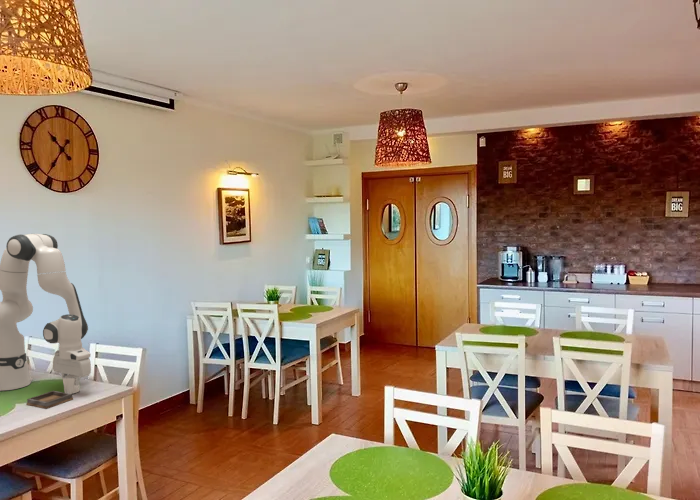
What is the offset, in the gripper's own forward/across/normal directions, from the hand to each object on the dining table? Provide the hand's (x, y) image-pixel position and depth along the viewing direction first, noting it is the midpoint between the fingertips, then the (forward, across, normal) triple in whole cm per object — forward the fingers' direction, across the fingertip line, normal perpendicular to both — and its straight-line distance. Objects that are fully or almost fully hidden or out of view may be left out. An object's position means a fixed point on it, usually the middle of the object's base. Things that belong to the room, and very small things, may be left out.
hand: (71, 384), depth 237 cm
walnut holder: (+4, +3, -12) cm, 13 cm away
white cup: (+4, 0, 0) cm, 4 cm away
